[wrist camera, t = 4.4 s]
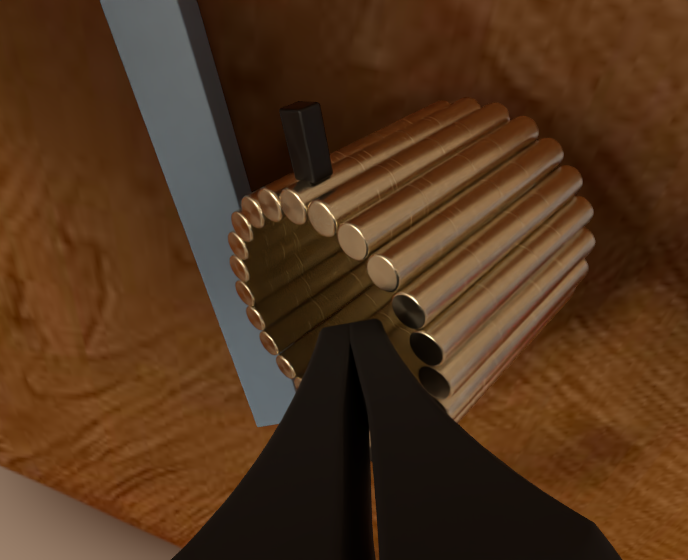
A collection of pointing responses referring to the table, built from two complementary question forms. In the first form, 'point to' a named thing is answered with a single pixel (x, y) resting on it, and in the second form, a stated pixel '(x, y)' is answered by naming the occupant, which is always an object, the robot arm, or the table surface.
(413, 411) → the robot arm
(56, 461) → the table surface
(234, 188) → the rectangular block
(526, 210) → the pot
